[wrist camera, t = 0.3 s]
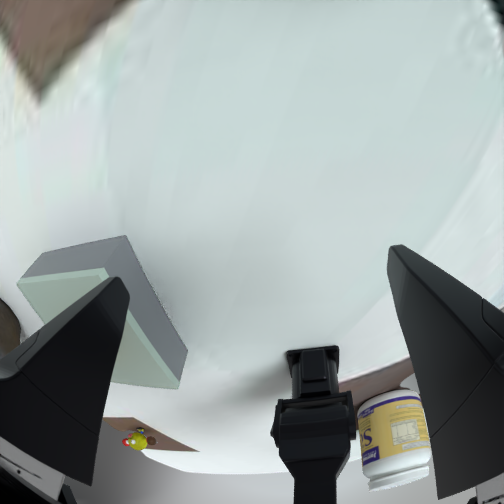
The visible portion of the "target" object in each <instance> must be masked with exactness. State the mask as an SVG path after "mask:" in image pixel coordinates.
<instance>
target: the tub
mask: <svg viewBox="0 0 504 504" xmlns="http://www.w3.org/2000/svg"><path fill="white" fill-rule="evenodd" d="M96 268H105V270H106V272H107V274H108V275H109V277H113V276H119V277H120V278H121V279H122V281H123V283H124V284H125V286H126V288H127V290H128V292H129V294H130V302H129V307H128V309H129V311H130V312H131V314H132V315H133V317H134V319H135V320H136V322H137V323H138V325H139V326H140V328H141V329H142V331H143V332H144V334H145V335H146V337H147V338H148V340H149V341H150V343H151V344H152V345H153V347H154V348H155V350H156V351H157V353H158V354H159V355H160V357H161V358H162V360H163V361H164V362H165V364H166V365H167V366H168V368H169V369H170V370H171V372H172V373H173V374H174V376H175V377H176V378H177V380H178V381H179V382H180V379H181V375H182V371H183V367H184V364H185V360H186V356H187V352H188V350H187V348H186V347H185V345H184V343H183V342H182V340H181V338H180V337H179V335H178V333H177V332H176V330H175V328H174V327H173V325H172V323H171V321H170V320H169V318H168V316H167V314H166V313H165V311H164V309H163V307H162V305H161V304H160V302H159V300H158V298H157V296H156V294H155V293H154V291H153V289H152V287H151V285H150V283H149V281H148V279H147V277H146V275H145V273H144V271H143V269H142V267H141V265H140V263H139V261H138V259H137V257H136V255H135V253H134V251H133V249H132V247H131V245H130V243H129V241H128V239H127V236H126V235H124V236H119V237H114V238H109V239H104V240H100V241H95V242H90V243H85V244H81V245H76V246H71V247H67V248H62V249H58V250H54V251H49V252H45V253H42V254H41V255H40V256H39V258H38V259H37V260H36V261H35V262H34V263H33V264H32V265H31V267H30V268H29V269H28V270H27V271H26V272H25V274H24V275H23V276H22V277H21V278H27V277H34V276H42V275H49V274H57V273H65V272H73V271H80V270H88V269H96ZM21 278H20V279H21Z"/></svg>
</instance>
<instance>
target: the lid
mask: <svg viewBox="0 0 504 504" xmlns="http://www.w3.org/2000/svg"><path fill="white" fill-rule="evenodd" d="M108 277H109V275H108V274H107V272H106V270H105V268H96V269H88V270H80V271H73V272H65V273H57V274H49V275H42V276H34V277H27V278H21V279H20V280H19V281H18V282H17V283H16V284H17V286H18V287H19V289H20V290H21V292H22V293H23V295H24V296H25V298H26V299H27V301H28V302H29V303H30V305H31V306H32V308H33V309H34V310H35V312H36V313H37V314H38V316H39V317H40V318H41V320H42V321H43V322H44V324H45V325H46V324H47V323H48V322H49V321H51V320H52V319H53V318H54V317H56V316H57V315H58V314H60V313H61V312H62V311H64V310H65V309H66V308H67V307H69V306H70V305H71V304H73V303H74V302H75V301H77V300H78V299H79V298H81V297H82V296H83V295H85V294H86V293H88V292H89V291H90V290H92V289H93V288H94V287H96V286H97V285H99V284H100V283H101V282H103V281H104V280H106V279H107V278H108ZM111 382H114V383H120V384H128V385H136V386H144V387H154V388H165V389H178V388H179V384H180V382H179V381H178V380H177V378H176V377H175V376H174V374H173V373H172V372H171V370H170V369H169V368H168V366H167V365H166V364H165V362H164V361H163V360H162V358H161V357H160V355H159V354H158V353H157V351H156V350H155V348H154V347H153V345H152V344H151V343H150V341H149V340H148V338H147V337H146V335H145V334H144V332H143V331H142V329H141V328H140V326H139V325H138V323H137V322H136V320H135V319H134V317H133V315H132V314H131V312H130V311H129V309H128V312H127V317H126V322H125V327H124V332H123V336H122V340H121V344H120V347H119V351H118V354H117V358H116V362H115V366H114V370H113V374H112V378H111Z"/></svg>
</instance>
